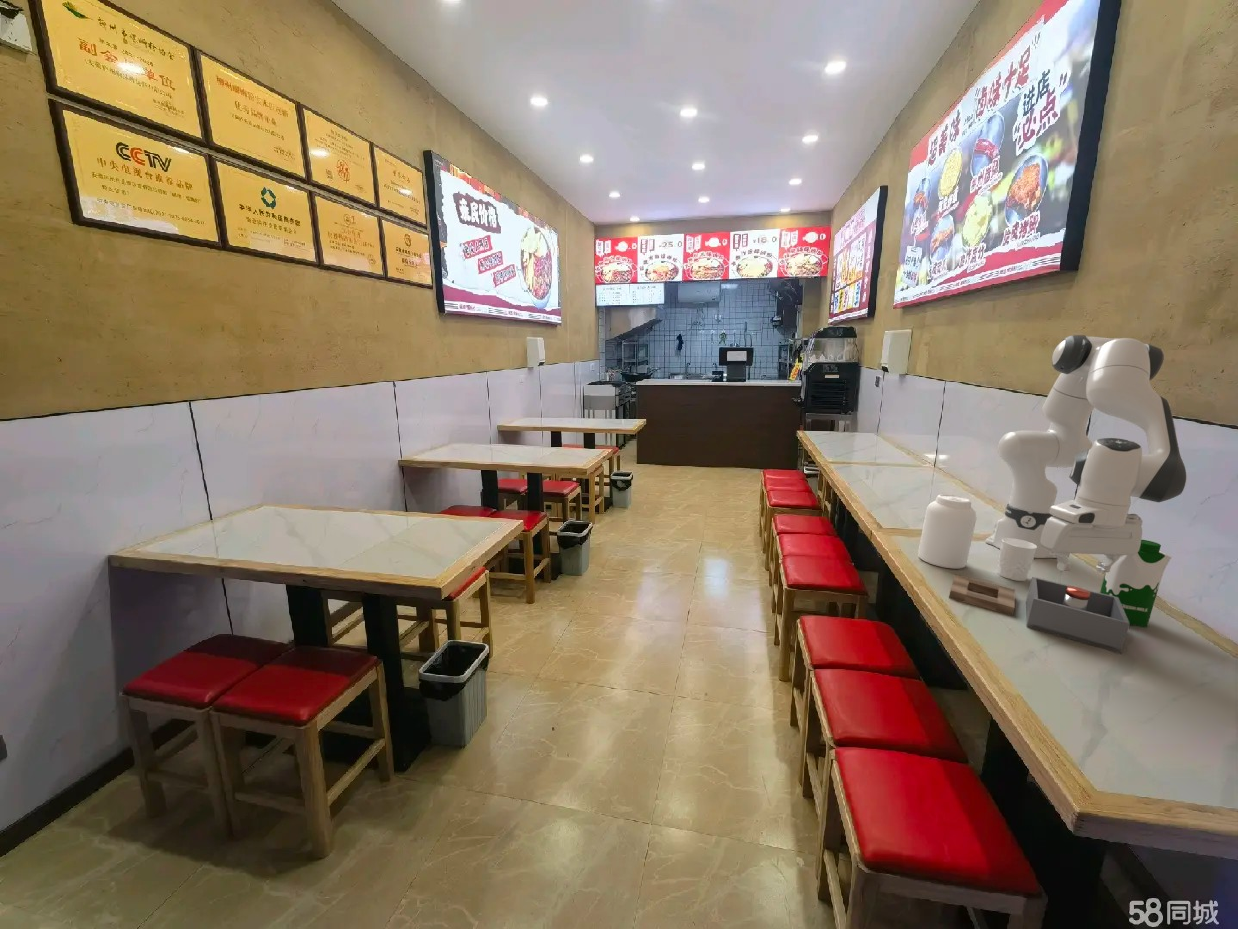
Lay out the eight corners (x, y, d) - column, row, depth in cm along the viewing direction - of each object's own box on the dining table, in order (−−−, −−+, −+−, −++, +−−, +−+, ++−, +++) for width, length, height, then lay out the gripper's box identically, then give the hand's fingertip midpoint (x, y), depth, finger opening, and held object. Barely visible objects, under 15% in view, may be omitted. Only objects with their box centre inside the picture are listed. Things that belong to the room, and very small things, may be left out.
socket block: (953, 581, 140) (955, 574, 139) (1013, 596, 132) (1014, 589, 132) (948, 597, 130) (950, 590, 129) (1012, 615, 122) (1014, 607, 122)
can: (970, 573, 146) (985, 506, 141) (920, 564, 150) (933, 499, 146) (960, 557, 157) (973, 495, 153) (914, 550, 162) (926, 489, 157)
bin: (1025, 602, 129) (1032, 576, 128) (1110, 624, 120) (1118, 597, 119) (1026, 626, 117) (1033, 598, 116) (1120, 653, 108) (1129, 623, 106)
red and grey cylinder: (1070, 617, 121) (1079, 586, 119) (1086, 626, 117) (1095, 594, 115) (1054, 617, 120) (1062, 585, 119) (1069, 626, 116) (1078, 593, 115)
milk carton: (1107, 622, 121) (1130, 542, 117) (1087, 605, 130) (1108, 530, 125) (1154, 630, 119) (1180, 549, 114) (1131, 612, 127) (1154, 536, 123)
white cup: (1035, 584, 141) (1043, 550, 139) (1003, 580, 142) (1011, 546, 140) (1019, 572, 148) (1027, 539, 146) (989, 568, 150) (996, 536, 148)
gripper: (1129, 509, 116) (1112, 566, 119) (1043, 506, 115) (1028, 563, 118) (1158, 519, 110) (1140, 578, 113) (1068, 515, 109) (1052, 575, 112)
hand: (1082, 570), depth 116 cm, fingers open, 8 cm apart
